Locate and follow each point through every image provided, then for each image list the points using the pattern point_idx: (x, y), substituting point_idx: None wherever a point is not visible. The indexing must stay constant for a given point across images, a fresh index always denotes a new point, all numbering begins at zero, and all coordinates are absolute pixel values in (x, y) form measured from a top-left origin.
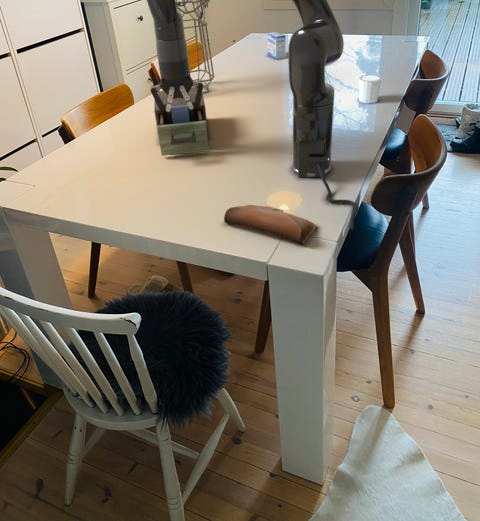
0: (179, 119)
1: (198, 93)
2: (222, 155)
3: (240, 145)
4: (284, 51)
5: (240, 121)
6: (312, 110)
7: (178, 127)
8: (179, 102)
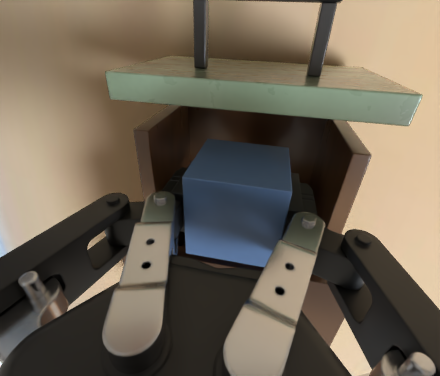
0: (250, 161)
1: (51, 248)
2: (127, 21)
3: (75, 91)
4: None
5: (97, 237)
6: None
7: (272, 79)
8: None
